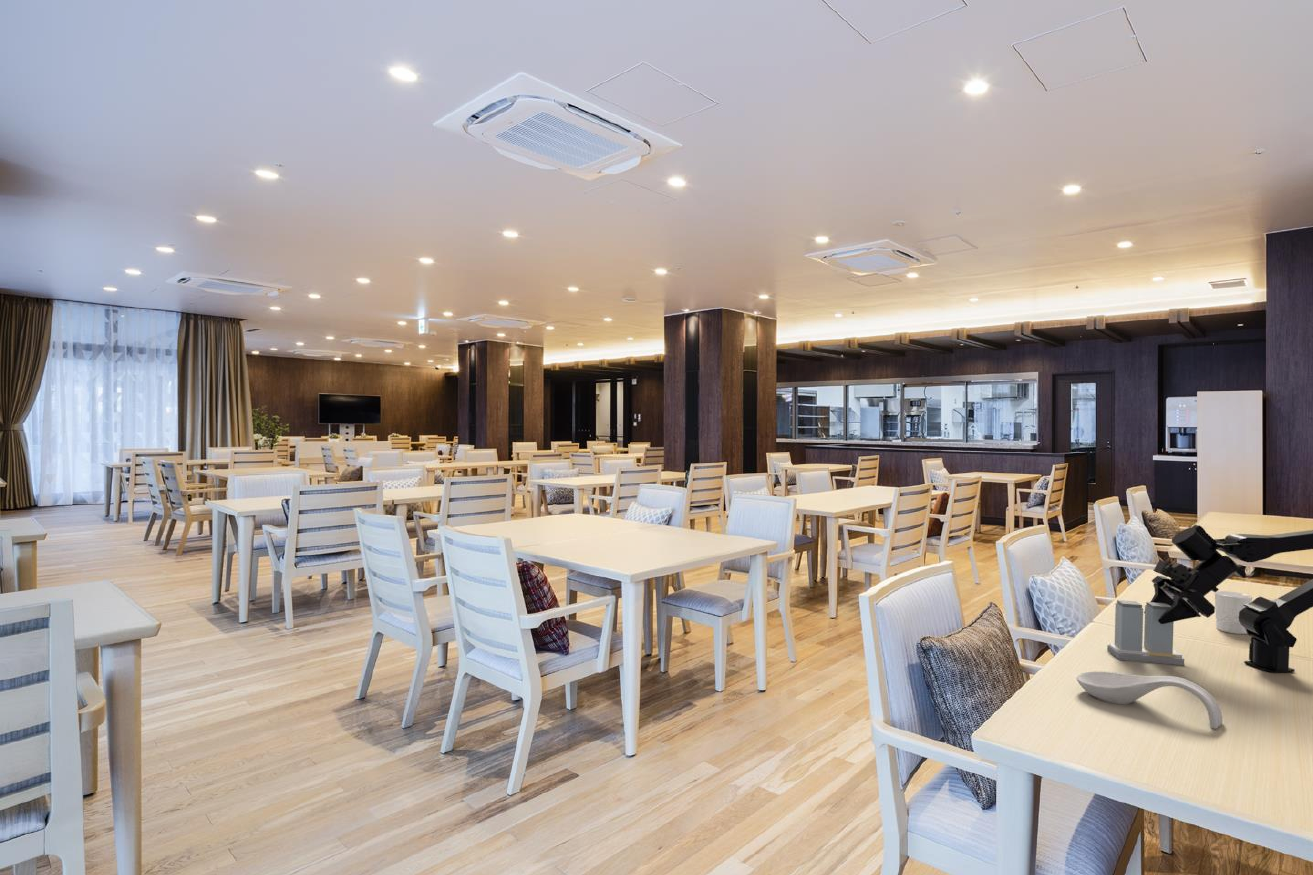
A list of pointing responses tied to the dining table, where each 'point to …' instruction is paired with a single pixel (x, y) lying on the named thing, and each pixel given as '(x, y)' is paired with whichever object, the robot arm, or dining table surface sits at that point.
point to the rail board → (1145, 655)
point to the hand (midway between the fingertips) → (1152, 618)
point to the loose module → (1157, 629)
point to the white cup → (1230, 611)
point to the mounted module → (1129, 625)
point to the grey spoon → (1143, 689)
